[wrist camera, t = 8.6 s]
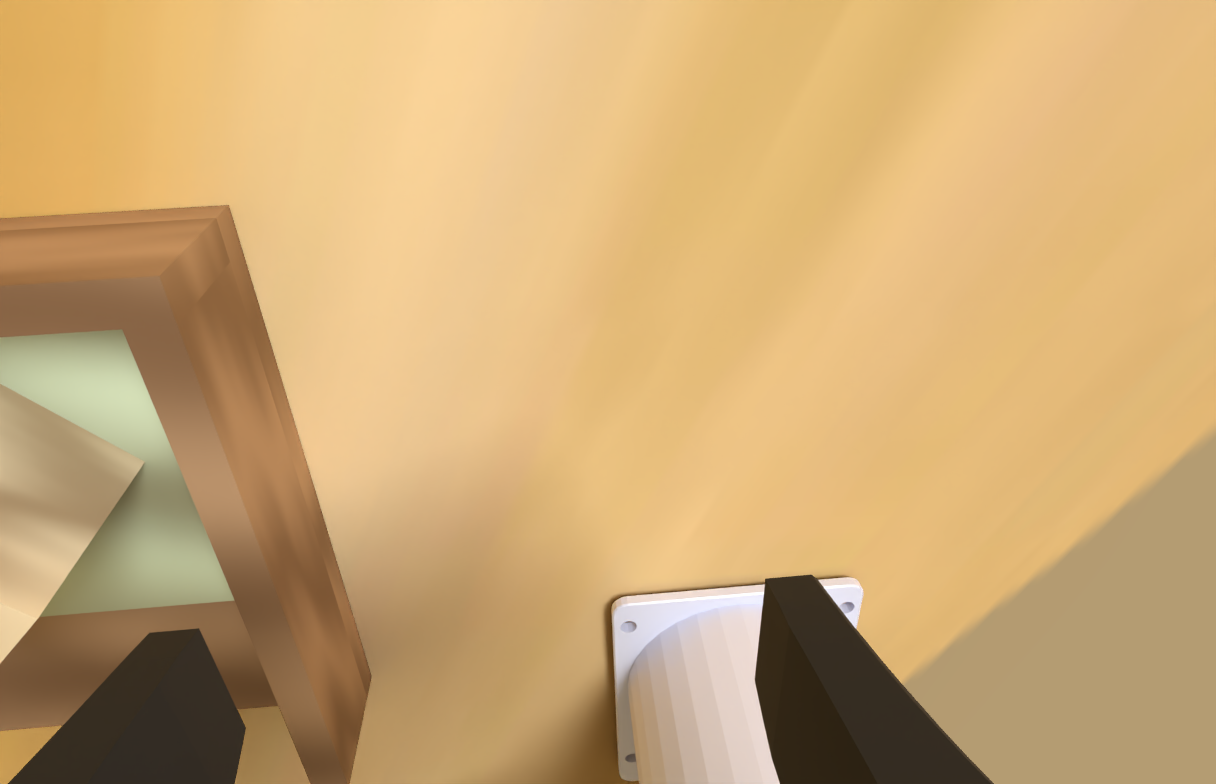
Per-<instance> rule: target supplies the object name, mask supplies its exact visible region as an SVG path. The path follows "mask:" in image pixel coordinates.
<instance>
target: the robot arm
mask: <svg viewBox="0 0 1216 784" xmlns="http://www.w3.org/2000/svg"><path fill="white" fill-rule="evenodd" d="M862 599H863V589H862V587H861V585H860V583H859V582H858V580H857V579H854V578H849V577H844V578H832V579H821V580H817V579H816V578H815V577H814V576H812V575H804V576H792V577H781V578H769V579H765V584H763V585H751V586H739V587H728V588H716V589H705V590H693V591H681V592H670V593H658V594H646V595H635V596H625V597H621V598H619V599H618V600H616V601H615V602H614V603H613V604H612V608H611V612H612V635H613V657H614V680H615V702H616V725H617V747H618V768H619V775H620V777H621V778H622V779H624V780H626V781H639V784H994V783H992V781H991V780H989V778H988V777H987V776H986V775H985V774H984V773H983V772H982V771H981V770H980V769H979V768H978V767H977V766H976V765H975V764H974V763H973V762H972V761H971V760H970V759H969V758H968V757H967V756H966V755H965V754H964V753H963V751H962V750H961V749H960V748H959V747H958V746H957V745H956V744H955V743H954V742H953V741H952V740H951V739H950V737H948V735H947V734H946V733H945V732H944V731H943V730H942V729H941V728H940V727H939V726H938V724H936V722H935V721H934V720H933V719H932V718H931V717H930V715H929V714H928V713H927V712H926V711H925V710H924V709H923V707H922V706H921V705H920V704H919V703H918V702H917V701H916V700H915V699H914V697H913V696H912V695H911V694H910V693H909V692H908V691H907V689H906V688H905V687H904V686H903V685H902V684H901V683H900V681H899V680H898V679H897V678H896V677H895V676H894V674H893V673H892V672H891V671H890V670H889V669H888V667H887V666H886V665H885V664H884V663H883V661H882V660H881V659H880V658H879V657H878V655H877V654H876V653H875V652H874V650H873V649H872V648H871V647H870V646H869V644H868V643H867V642H866V641H865V639H864V638H863V637H862V636H861V635H860V633H859V632H858V631H857V630H856V628H857V623H858V618H859V613H860V608H861V604H862ZM845 602H846V603H845ZM627 621H632V622H629V623H624V622H627ZM245 729H246V727H245V725H244V723H243V721H242V719H241V717H240V715H239V713H238V710H237V708H236V706H235V704H234V702H233V700H232V698H231V695H230V693H229V691H228V689H227V687H226V685H225V683H224V680H223V678H222V676H221V674H220V672H219V670H218V668H217V666H216V663H215V661H214V659H213V657H212V655H211V653H210V651H209V648H208V646H207V644H206V642H205V640H204V638H203V636H202V634H201V631H200V629H199V628H197V629H186V630H175V631H163V632H152V633H149V634H148V635H147V636H146V637H145V638H144V639H143V640H142V641H141V642H140V643H139V644H138V645H137V646H136V647H135V648H134V649H133V650H132V651H131V653H130V654H129V655H128V656H127V657H126V658H125V659H124V660H123V661H122V662H121V663H120V664H119V665H118V667H117V668H116V669H115V670H114V671H113V672H112V673H111V674H110V675H109V676H108V677H107V678H106V680H105V681H104V682H103V683H102V684H101V685H100V686H99V687H98V688H97V689H96V690H95V691H94V692H93V694H92V695H91V696H90V697H89V698H88V699H87V700H86V701H85V702H84V703H83V704H82V705H81V707H80V708H79V709H78V710H77V711H76V712H75V713H74V714H73V715H72V716H71V717H70V718H69V720H68V721H67V722H66V723H65V724H64V725H63V726H62V727H61V728H60V729H59V730H58V731H57V732H56V734H55V735H54V736H53V737H52V738H51V739H50V740H49V741H48V742H47V743H46V744H45V745H44V746H43V747H42V749H41V750H40V751H39V752H38V753H37V754H36V755H35V756H34V757H33V758H32V759H31V760H30V761H29V762H28V763H27V764H26V765H25V766H24V767H23V769H22V770H21V771H20V772H19V773H18V774H17V775H16V776H15V777H14V778H13V779H12V780H11V781H10V782H9V783H8V784H234V783H235V778H236V774H237V769H238V764H239V759H240V754H241V749H242V744H243V739H244V734H245Z"/></svg>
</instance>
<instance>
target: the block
mask: <svg viewBox="0 0 1216 784" xmlns="http://www.w3.org/2000/svg"><path fill="white" fill-rule="evenodd" d="M144 463H145V462H144V461H142V460H141V459H139V458H137V457H135V456H133V455H131V454H129V453H128V452H126V451H124V450H122V449H120V448H118V447H117V446H115V445H113V444H111V443H109V442H107V441H105V440H104V439H102V438H100V437H98V436H96V435H94V434H92V433H91V432H89V431H87V430H85V429H83V428H81V427H79V426H78V425H76V424H74V423H72V422H70V421H68V420H66V419H65V418H63V417H61V416H59V415H57V414H55V413H54V412H52V411H50V410H48V409H46V408H44V407H42V406H41V405H39V404H37V403H35V402H33V401H31V400H29V399H28V398H26V397H24V396H22V395H20V394H18V393H16V392H15V391H13V390H11V389H9V388H7V387H5V386H3V385H2V384H0V663H1V662H2V661H3V660H4V658H5V657H6V656H7V655H8V654H9V653H10V651H11V650H12V649H13V648H14V647H15V645H16V644H17V643H18V642H19V641H20V639H21V638H22V637H23V636H24V635H25V633H26V632H27V631H28V630H29V629H30V628H31V626H32V625H33V624H34V623H35V622H36V620H37V619H38V618H39V616H40V615H41V613H42V612H43V610H44V609H45V608H46V606H47V605H48V603H49V602H50V600H51V599H52V597H53V596H54V594H55V593H56V591H57V590H58V589H59V587H60V586H61V584H62V583H63V581H64V580H65V578H66V577H67V575H68V574H69V572H70V571H71V569H72V568H73V567H74V565H75V564H76V562H77V561H78V559H79V558H80V556H81V555H82V553H83V552H84V550H85V549H86V548H87V546H88V545H89V543H90V542H91V540H92V539H93V537H94V536H95V534H96V533H97V531H98V530H99V529H100V527H101V526H102V524H103V523H104V521H105V520H106V518H107V517H108V515H109V514H110V512H111V511H112V510H113V508H114V507H115V505H116V504H117V502H118V501H119V499H120V498H121V496H122V495H123V493H124V492H125V491H126V489H127V488H128V486H129V485H130V483H131V482H132V480H133V479H134V477H135V476H136V474H137V473H138V471H139V470H140V469H141V467H142V466H143V464H144Z"/></svg>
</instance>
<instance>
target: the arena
mask: <svg viewBox="0 0 1216 784" xmlns="http://www.w3.org/2000/svg"><path fill="white" fill-rule="evenodd" d="M0 384H2V385H3V386H5V387H7V388H9V389H11V390H13V391H15V392H16V393H18V394H20V395H22V396H24V397H26V398H28V399H29V400H31V401H33V402H35V403H37V404H39V405H41V406H42V407H44V408H46V409H48V410H50V411H52V412H54V413H55V414H57V415H59V416H61V417H63V418H65V419H66V420H68V421H70V422H72V423H74V424H76V425H78V426H79V427H81V428H83V429H85V430H87V431H89V432H91V433H92V434H94V435H96V436H98V437H100V438H102V439H104V440H105V441H107V442H109V443H111V444H113V445H115V446H117V447H118V448H120V449H122V450H124V451H126V452H128V453H129V454H131V455H133V456H135V457H137V458H139V459H141V460H142V461H144V462H145V463H144V464H143V466H142V467H141V469H140V470H139V471H138V473H137V474H136V476H135V477H134V479H133V480H132V482H131V483H130V485H129V486H128V488H127V489H126V491H125V492H124V493H123V495H122V496H121V498H120V499H119V501H118V502H117V504H116V505H115V507H114V508H113V510H112V511H111V512H110V514H109V515H108V517H107V518H106V520H105V521H104V523H103V524H102V526H101V527H100V529H99V530H98V531H97V533H96V534H95V536H94V537H93V539H92V540H91V542H90V543H89V545H88V546H87V548H86V549H85V550H84V552H83V553H82V555H81V556H80V558H79V559H78V561H77V562H76V564H75V565H74V567H73V568H72V569H71V571H70V572H69V574H68V575H67V577H66V578H65V580H64V581H63V583H62V584H61V586H60V587H59V589H58V590H57V591H56V593H55V594H54V596H53V597H52V599H51V600H50V602H49V603H48V605H47V606H46V608H45V609H44V610H43V612H42V613H41V615H40V616H39V618H38V619H37V620H36V622H35V623H34V624H33V625H32V626H31V628H30V629H29V630H28V631H27V632H26V633H25V635H24V636H23V637H22V638H21V639H20V641H19V642H18V643H17V644H16V645H15V647H14V648H13V649H12V650H11V651H10V653H9V654H8V655H7V656H6V657H5V658H4V660H3V661H2V662H1V663H0V731H5V730H16V729H27V728H38V727H49V726H60V725H64V724H65V723H66V722H67V721H68V720H69V718H70V717H71V716H72V715H73V714H74V713H75V712H76V711H77V710H78V709H79V708H80V707H81V705H82V704H83V703H84V702H85V701H86V700H87V699H88V698H89V697H90V696H91V695H92V694H93V692H94V691H95V690H96V689H97V688H98V687H99V686H100V685H101V684H102V683H103V682H104V681H105V680H106V678H107V677H108V676H109V675H110V674H111V673H112V672H113V671H114V670H115V669H116V668H117V667H118V665H119V664H120V663H121V662H122V661H123V660H124V659H125V658H126V657H127V656H128V655H129V654H130V653H131V651H132V650H133V649H134V648H135V647H136V646H137V645H138V644H139V643H140V642H141V641H142V640H143V639H144V638H145V637H146V636H147V635H148V634H149V633H152V632H163V631H175V630H186V629H197V628H199V629H200V631H201V634H202V636H203V638H204V640H205V642H206V644H207V646H208V648H209V651H210V653H211V655H212V657H213V659H214V661H215V663H216V666H217V668H218V670H219V672H220V674H221V676H222V678H223V680H224V683H225V685H226V687H227V689H228V691H229V693H230V695H231V698H232V700H233V702H234V704H235V706H236V708H237V709H246V708H257V707H268V706H279V709H280V711H281V713H282V716H283V718H284V721H285V723H286V725H287V728H288V730H289V733H290V735H291V738H292V740H293V742H294V745H295V747H296V750H297V752H298V754H299V757H300V759H301V762H302V764H303V766H304V769H305V771H306V774H307V776H308V778H309V781H310V783H311V784H349V783H350V778H351V773H352V768H353V764H354V759H355V754H356V749H357V744H358V739H359V734H360V730H361V725H362V720H363V715H364V710H365V705H366V700H367V695H368V691H369V686H370V681H371V674H370V670H369V667H368V664H367V660H366V657H365V654H364V651H363V647H362V644H361V641H360V637H359V634H358V631H357V627H356V624H355V621H354V618H353V614H352V611H351V608H350V604H349V601H348V598H347V594H346V591H345V588H344V585H343V581H342V578H341V575H340V571H339V568H338V565H337V561H336V558H335V555H334V552H333V548H332V545H331V542H330V538H329V535H328V532H327V528H326V525H325V522H324V519H323V515H322V512H321V509H320V505H319V502H318V499H317V495H316V492H315V489H314V486H313V482H312V479H311V476H310V472H309V469H308V466H307V462H306V459H305V456H304V453H303V449H302V446H301V443H300V439H299V436H298V433H297V429H296V426H295V423H294V419H293V416H292V413H291V410H290V406H289V403H288V400H287V396H286V393H285V390H284V386H283V383H282V380H281V377H280V373H279V370H278V367H277V363H276V360H275V357H274V353H273V350H272V347H271V344H270V340H269V337H268V334H267V330H266V327H265V324H264V320H263V317H262V314H261V311H260V307H259V304H258V301H257V297H256V294H255V291H254V287H253V284H252V281H251V278H250V274H249V271H248V268H247V264H246V261H245V258H244V254H243V251H242V248H241V245H240V241H239V238H238V235H237V231H236V228H235V225H234V221H233V218H232V215H231V212H230V208H229V205H224V206H207V207H190V208H173V209H156V210H139V211H122V212H105V213H88V214H71V215H54V216H37V217H20V218H3V219H0Z"/></svg>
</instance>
